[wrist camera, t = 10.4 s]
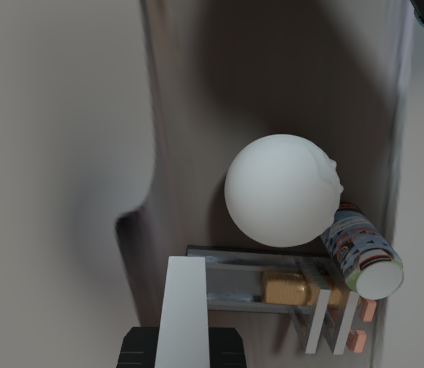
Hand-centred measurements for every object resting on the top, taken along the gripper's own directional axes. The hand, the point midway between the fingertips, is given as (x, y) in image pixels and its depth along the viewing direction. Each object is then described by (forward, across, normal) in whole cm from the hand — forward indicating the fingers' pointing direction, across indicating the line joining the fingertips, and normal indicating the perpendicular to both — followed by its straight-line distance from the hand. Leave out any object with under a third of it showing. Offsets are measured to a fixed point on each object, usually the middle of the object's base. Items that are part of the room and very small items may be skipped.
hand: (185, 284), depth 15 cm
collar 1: (+28, +15, -19) cm, 37 cm away
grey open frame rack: (+28, +11, -19) cm, 36 cm away
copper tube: (+27, +16, -19) cm, 37 cm away
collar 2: (+28, +19, -19) cm, 39 cm away
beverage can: (+29, +19, -10) cm, 36 cm away
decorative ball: (+28, +10, -4) cm, 30 cm away
